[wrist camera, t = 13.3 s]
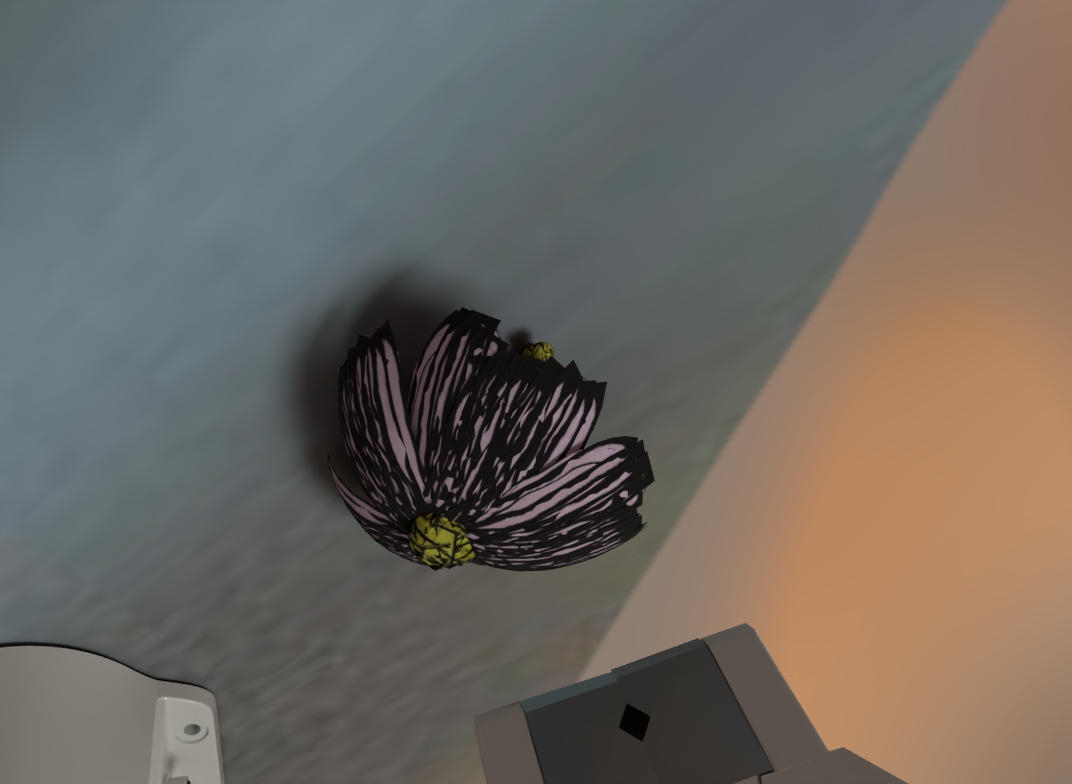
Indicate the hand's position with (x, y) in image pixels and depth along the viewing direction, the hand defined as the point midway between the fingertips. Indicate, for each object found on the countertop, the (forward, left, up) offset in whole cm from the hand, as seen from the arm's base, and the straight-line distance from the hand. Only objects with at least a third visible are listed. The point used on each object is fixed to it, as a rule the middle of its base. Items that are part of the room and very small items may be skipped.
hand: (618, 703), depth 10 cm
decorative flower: (-16, -2, -31) cm, 35 cm away
